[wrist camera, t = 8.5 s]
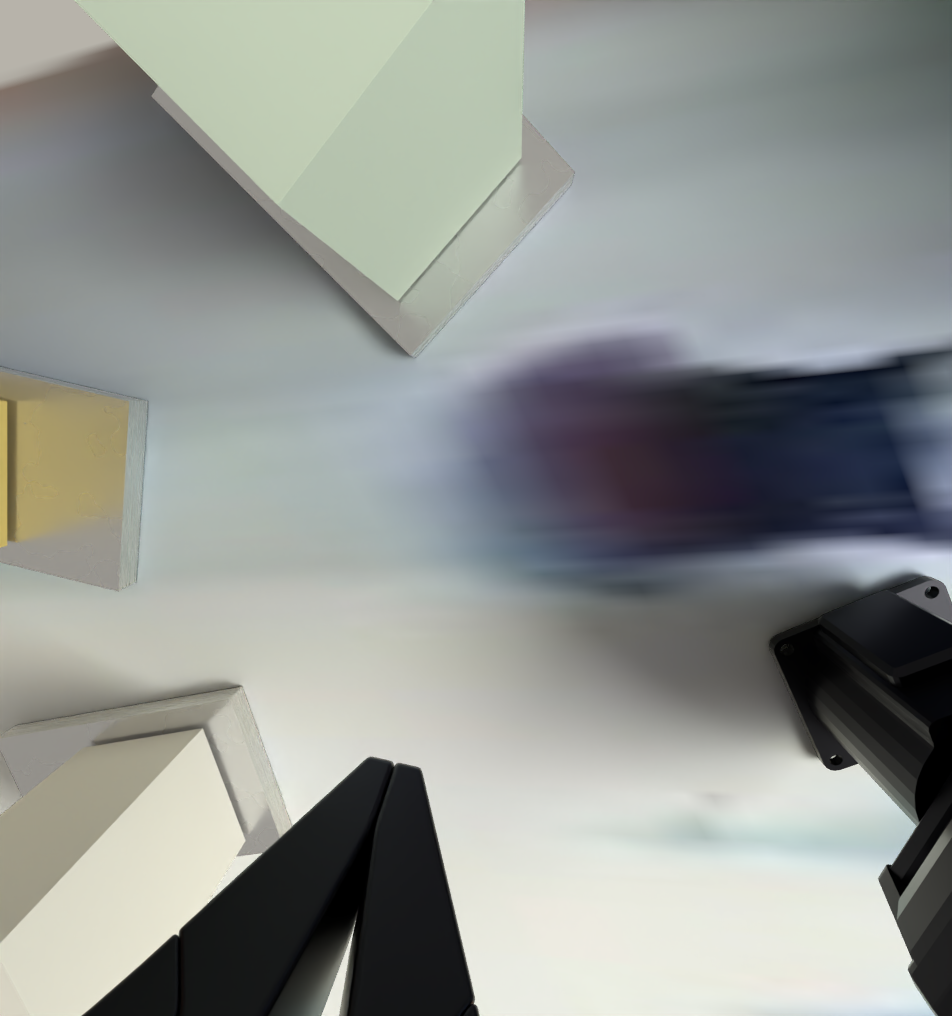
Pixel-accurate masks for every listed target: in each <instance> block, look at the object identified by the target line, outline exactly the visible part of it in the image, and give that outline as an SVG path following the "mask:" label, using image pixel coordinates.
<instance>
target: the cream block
mask: <svg viewBox="0 0 952 1016" xmlns="http://www.w3.org/2000/svg"><path fill="white" fill-rule="evenodd" d="M245 841H246V840H245V838H244V835H243V832H242V830H241V827H240V824H239V822H238V819H237V817H236V814H235V811H234V809H233V806H232V803H231V801H230V798H229V796H228V793H227V790H226V788H225V785H224V782H223V780H222V777H221V775H220V772H219V769H218V767H217V764H216V761H215V759H214V756H213V754H212V751H211V748H210V746H209V743H208V740H207V738H206V735H205V733H204V730H203V728H201V729H195V730H189V731H183V732H177V733H170V734H164V735H158V736H152V737H146V738H140V739H133V740H127V741H121V742H115V743H109V744H103V745H96V746H90V747H84V748H82V749H81V750H80V751H79V752H77V753H76V754H75V755H74V756H73V757H71V758H70V759H69V760H68V761H66V762H65V763H64V764H63V765H61V766H60V767H59V768H58V769H57V770H55V771H54V772H53V773H52V774H50V775H49V776H48V777H47V778H45V779H44V780H43V781H42V782H41V783H39V784H38V785H37V786H36V787H34V788H33V789H32V790H31V791H29V792H28V793H27V794H26V795H25V796H23V797H22V798H21V799H20V800H18V801H17V802H16V803H15V804H14V805H12V806H11V807H10V808H9V809H7V810H6V811H5V812H4V813H2V814H1V815H0V1016H82V1015H83V1014H84V1013H85V1012H87V1011H88V1010H89V1009H90V1008H91V1007H93V1006H94V1005H95V1004H96V1003H97V1002H98V1001H99V1000H101V999H102V998H103V997H104V996H105V995H106V994H107V993H109V992H110V991H111V990H112V989H113V988H114V987H115V986H117V985H118V984H119V983H120V982H121V981H122V980H123V979H125V978H126V977H127V976H128V975H129V974H130V973H132V972H133V971H134V970H135V969H136V968H137V967H138V966H140V965H141V964H142V963H143V962H144V961H145V960H146V959H147V958H148V957H149V956H150V955H152V954H153V953H154V952H155V951H156V950H157V949H158V948H159V947H160V946H161V945H162V944H164V943H165V942H166V941H167V940H168V939H169V938H170V937H171V936H172V935H174V934H176V935H178V936H179V930H180V929H181V928H182V927H183V926H184V925H185V924H186V923H187V922H188V921H189V920H190V919H191V918H192V917H194V916H195V915H196V914H197V913H198V912H199V911H200V910H201V909H202V908H203V907H205V906H206V905H207V904H208V902H209V900H210V899H211V897H212V895H213V894H214V892H215V890H216V889H217V887H218V885H219V884H220V882H221V880H222V879H223V877H224V876H225V874H226V872H227V871H228V869H229V867H230V866H231V864H232V862H233V861H234V859H235V857H236V856H237V854H238V853H239V851H240V849H241V848H242V846H243V844H244V843H245Z"/></svg>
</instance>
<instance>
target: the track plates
mask: <svg viewBox="0 0 952 1016" xmlns="http://www.w3.org/2000/svg"><path fill="white" fill-rule="evenodd" d="M152 97H153V98H154V99H155V100H156V101H157V102H158V103H159V104H160V105H161V106H162V107H163V108H164V109H165V110H166V111H167V112H168V113H169V114H170V115H171V116H172V117H173V118H174V119H175V120H176V121H177V122H178V123H179V124H180V126H181V127H182V128H183V129H184V130H185V131H186V132H187V133H188V134H189V135H190V136H191V137H192V138H193V139H194V140H195V141H196V142H197V143H198V144H199V145H200V146H201V147H202V148H203V149H204V150H205V151H206V152H207V153H208V154H209V155H210V156H211V157H212V158H213V159H214V160H215V161H216V162H217V163H218V164H219V165H220V166H221V167H222V168H223V169H224V170H225V171H226V172H227V173H228V174H229V175H230V176H231V177H232V178H233V179H234V180H235V181H236V182H237V183H238V184H239V185H240V186H241V187H242V188H243V189H244V190H245V191H246V192H247V193H248V194H249V195H250V196H251V197H252V198H253V199H254V200H255V201H256V202H257V203H258V204H259V205H260V206H261V207H262V208H263V209H264V210H265V211H266V212H267V213H268V214H269V215H270V216H271V217H272V218H273V219H274V220H275V221H276V222H277V223H278V224H279V225H280V226H281V227H282V228H283V229H284V230H285V231H286V232H287V233H288V234H289V235H290V236H291V237H292V238H293V239H294V240H295V241H296V242H297V243H298V244H299V245H300V246H301V247H302V248H303V249H304V250H305V251H306V252H307V253H308V254H309V255H310V256H311V257H312V258H313V259H314V260H315V261H316V262H317V263H318V264H319V265H320V266H321V267H322V268H323V269H324V270H325V271H326V272H327V273H328V274H329V275H330V276H331V277H332V278H333V279H334V280H335V281H336V282H337V283H338V284H339V285H340V286H341V287H342V288H343V289H344V290H345V291H346V292H347V293H348V294H349V295H350V296H351V297H352V298H353V299H354V300H355V301H356V302H357V303H358V304H359V305H360V306H361V307H362V308H363V309H364V310H365V311H366V312H367V313H368V314H369V315H370V316H371V317H372V318H373V319H374V320H375V321H376V322H377V323H378V324H379V325H380V326H381V327H382V328H383V329H384V330H385V331H386V332H387V333H388V334H389V335H390V336H391V337H392V338H393V339H394V340H395V341H396V342H397V343H398V344H399V345H400V346H401V347H402V348H403V349H404V350H405V351H406V352H407V353H408V354H409V355H410V356H412V357H415V358H416V357H417V356H418V355H419V354H420V352H421V351H422V350H423V349H424V348H425V347H426V346H427V345H428V344H429V342H430V341H431V340H432V339H433V338H434V337H435V336H436V335H437V334H438V332H439V331H440V330H441V329H442V328H443V327H444V326H445V325H446V324H447V322H448V321H449V320H450V319H451V318H452V317H453V316H454V315H455V314H456V312H457V311H458V310H459V309H460V308H461V307H462V306H463V305H464V304H465V302H466V301H467V300H468V299H469V298H470V297H471V296H472V295H473V294H474V292H475V291H476V290H477V289H478V288H479V287H480V286H481V285H482V284H483V282H484V281H485V280H486V279H487V278H488V277H489V276H490V275H491V274H492V273H493V271H494V270H495V269H496V268H497V267H498V266H499V265H500V264H501V263H502V261H503V260H504V259H505V258H506V257H507V256H508V255H509V254H510V253H511V251H512V250H513V249H514V248H515V247H516V246H517V245H518V244H519V243H520V241H521V240H522V239H523V238H524V237H525V236H526V235H527V234H528V233H529V231H530V230H531V229H532V228H533V227H534V226H535V225H536V224H537V223H538V221H539V220H540V219H541V218H542V217H543V216H544V215H545V214H546V213H547V211H548V210H549V209H550V208H551V207H552V206H553V205H554V204H555V203H556V201H557V200H558V199H559V198H560V197H561V196H562V195H563V194H564V193H565V191H566V190H567V189H568V188H569V187H570V186H571V185H572V181H573V177H574V174H575V172H574V171H573V169H572V168H571V167H570V166H569V165H568V164H567V163H566V162H565V161H564V159H563V158H562V157H561V156H560V155H559V154H558V153H557V152H556V151H555V150H554V148H553V147H552V146H551V145H550V144H549V143H548V142H547V141H546V140H545V139H544V137H543V136H542V135H541V134H540V133H539V132H538V131H537V130H536V129H535V128H534V126H533V125H532V124H531V123H530V122H529V121H528V120H527V119H526V118H525V116H524V115H523V114H522V155H521V159H520V160H519V161H518V162H517V164H516V165H515V166H514V167H513V168H512V169H511V171H510V172H509V173H508V174H507V175H506V176H505V178H504V179H503V180H502V181H501V182H500V183H499V184H498V186H497V187H496V188H495V189H494V190H493V191H492V193H491V194H490V195H489V196H488V197H487V198H486V200H485V201H484V202H483V203H482V204H481V205H480V206H479V208H478V209H477V210H476V211H475V212H474V213H473V215H472V216H471V217H470V218H469V219H468V220H467V222H466V223H465V224H464V225H463V226H462V227H461V228H460V230H459V231H458V232H457V233H456V234H455V235H454V237H453V238H452V239H451V240H450V241H449V242H448V244H447V245H446V246H445V247H444V248H443V249H442V251H441V252H440V253H439V254H438V255H437V256H436V257H435V259H434V260H433V261H432V262H431V263H430V264H429V266H428V267H427V268H426V269H425V270H424V271H423V273H422V274H421V275H420V276H419V277H418V278H417V279H416V281H415V282H414V283H413V284H412V285H411V286H410V288H409V289H408V290H407V291H406V292H405V293H404V295H403V296H402V297H401V298H400V299H399V300H398V301H397V300H396V299H394V298H393V297H392V296H391V295H389V294H388V293H387V292H386V291H384V290H383V289H382V288H381V287H379V286H378V285H377V284H376V283H374V282H373V281H372V280H371V279H369V278H368V277H367V276H366V275H364V274H363V273H362V272H361V271H359V270H358V269H357V268H356V267H354V266H353V265H352V264H350V263H349V262H348V261H347V260H345V259H344V258H343V257H342V256H340V255H339V254H338V253H337V252H335V251H334V250H333V249H332V248H330V247H329V246H328V245H327V244H325V243H324V242H323V241H322V240H320V239H319V238H318V237H317V236H315V235H314V234H313V233H312V232H310V231H309V230H308V229H307V228H305V227H304V226H303V225H302V224H300V223H299V222H298V221H297V220H295V219H294V218H293V217H291V216H290V215H289V214H288V213H286V212H285V211H284V210H283V209H281V208H280V207H279V206H278V205H277V204H276V203H275V202H274V201H273V200H272V199H271V198H270V197H269V196H268V195H267V194H266V193H265V192H264V191H263V190H262V189H261V188H260V187H259V186H258V185H257V184H256V183H255V182H254V181H253V180H252V179H251V178H250V177H249V176H248V175H247V174H246V173H245V172H244V171H243V170H242V169H241V168H240V167H239V166H238V165H237V164H236V163H235V162H234V161H233V160H232V159H231V158H230V157H229V156H228V155H227V154H226V153H225V152H224V151H223V150H222V149H221V148H220V147H219V146H218V145H217V144H216V143H215V142H214V141H213V140H212V139H211V138H210V137H209V136H208V135H207V134H206V133H205V132H204V131H203V130H202V129H201V128H200V127H199V126H198V125H197V124H196V123H195V122H194V121H193V120H192V119H191V118H190V117H189V116H188V115H187V114H186V113H185V112H184V111H183V110H182V109H181V108H180V107H179V106H178V105H177V104H176V103H175V102H174V101H173V100H172V99H171V98H170V97H169V96H168V95H167V94H166V93H165V92H164V91H163V90H162V89H161V88H160V87H159V85H158V87H157V88H156V90H155V91H154V93H153V94H152ZM0 400H4V401H7V546H4V547H1V548H0V562H1V563H5V564H9V565H13V566H18V567H22V568H26V569H30V570H34V571H38V572H42V573H46V574H50V575H54V576H58V577H62V578H67V579H71V580H75V581H79V582H83V583H87V584H91V585H95V586H99V587H103V588H107V589H111V590H116V591H120V590H122V589H124V588H126V587H128V586H130V585H132V584H134V583H136V577H137V561H138V546H139V531H140V515H141V500H142V485H143V470H144V454H145V439H146V424H147V408H148V401H145V400H141V399H137V398H132V397H128V396H124V395H120V394H115V393H111V392H107V391H103V390H98V389H94V388H90V387H85V386H81V385H77V384H73V383H68V382H64V381H60V380H55V379H51V378H47V377H43V376H38V375H34V374H30V373H26V372H21V371H17V370H13V369H8V368H4V367H0ZM201 728H203V730H204V733H205V735H206V738H207V740H208V743H209V746H210V748H211V751H212V754H213V756H214V759H215V761H216V764H217V767H218V769H219V772H220V775H221V777H222V780H223V782H224V785H225V788H226V790H227V793H228V796H229V798H230V801H231V803H232V806H233V809H234V811H235V814H236V817H237V819H238V822H239V824H240V827H241V830H242V832H243V835H244V838H245V840H246V841H245V843H244V844H243V846H242V848H241V849H240V851H239V853H238V854H237V856H243V855H251V854H258V853H264V852H265V851H266V850H267V849H268V848H269V847H270V846H271V845H272V844H274V843H275V842H276V841H277V840H278V839H279V838H280V837H281V836H282V835H283V834H284V833H286V832H287V831H288V830H289V829H290V828H291V827H292V825H291V822H290V819H289V817H288V814H287V811H286V808H285V805H284V802H283V800H282V797H281V794H280V791H279V788H278V786H277V783H276V780H275V777H274V774H273V772H272V769H271V766H270V763H269V760H268V758H267V755H266V752H265V749H264V746H263V744H262V741H261V738H260V735H259V732H258V730H257V727H256V724H255V721H254V718H253V716H252V713H251V710H250V707H249V704H248V702H247V699H246V696H245V693H244V690H243V688H242V687H237V688H231V689H225V690H219V691H213V692H208V693H202V694H196V695H190V696H184V697H179V698H173V699H167V700H161V701H155V702H149V703H144V704H138V705H132V706H126V707H120V708H115V709H109V710H103V711H97V712H91V713H86V714H80V715H74V716H68V717H62V718H56V719H51V720H45V721H39V722H33V723H27V724H22V725H16V726H14V727H13V728H11V729H10V730H8V731H7V732H5V733H4V734H2V735H1V736H0V751H1V753H2V755H3V757H4V759H5V761H6V763H7V766H8V768H9V770H10V772H11V774H12V776H13V778H14V780H15V782H16V784H17V786H18V789H19V791H20V793H21V795H22V797H23V796H25V795H26V794H27V793H28V792H29V791H31V790H32V789H33V788H34V787H36V786H37V785H38V784H39V783H41V782H42V781H43V780H44V779H45V778H47V777H48V776H49V775H50V774H52V773H53V772H54V771H55V770H57V769H58V768H59V767H60V766H61V765H63V764H64V763H65V762H66V761H68V760H69V759H70V758H71V757H73V756H74V755H75V754H76V753H77V752H79V751H80V750H81V749H82V748H84V747H90V746H96V745H103V744H109V743H115V742H121V741H127V740H133V739H140V738H146V737H152V736H158V735H164V734H170V733H177V732H183V731H189V730H195V729H201Z"/></svg>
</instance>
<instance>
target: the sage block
mask: <svg viewBox="0 0 952 1016" xmlns="http://www.w3.org/2000/svg"><path fill="white" fill-rule="evenodd" d="M74 1H75V2H76V3H77V4H78V5H79V6H80V7H81V8H82V9H83V10H84V11H85V12H86V13H87V14H88V15H89V16H90V17H91V18H92V19H93V20H94V21H95V22H96V23H97V24H98V25H99V26H100V27H101V28H102V29H103V30H104V31H105V32H106V33H107V34H108V35H109V36H110V37H111V38H112V39H113V40H114V41H115V42H116V43H117V44H118V45H119V46H120V47H121V48H122V49H123V50H124V51H125V52H126V53H127V54H128V55H129V56H130V57H131V58H132V59H133V60H134V61H135V62H136V63H137V64H138V65H139V66H140V67H141V68H142V69H143V70H144V71H145V72H146V73H147V74H148V75H149V76H150V77H151V78H152V79H153V80H154V81H155V82H156V83H157V84H158V85H159V87H160V88H161V89H162V90H163V91H164V92H165V93H166V94H167V95H168V96H169V97H170V98H171V99H172V100H173V101H174V102H175V103H176V104H177V105H178V106H179V107H180V108H181V109H182V110H183V111H184V112H185V113H186V114H187V115H188V116H189V117H190V118H191V119H192V120H193V121H194V122H195V123H196V124H197V125H198V126H199V127H200V128H201V129H202V130H203V131H204V132H205V133H206V134H207V135H208V136H209V137H210V138H211V139H212V140H213V141H214V142H215V143H216V144H217V145H218V146H219V147H220V148H221V149H222V150H223V151H224V152H225V153H226V154H227V155H228V156H229V157H230V158H231V159H232V160H233V161H234V162H235V163H236V164H237V165H238V166H239V167H240V168H241V169H242V170H243V171H244V172H245V173H246V174H247V175H248V176H249V177H250V178H251V179H252V180H253V181H254V182H255V183H256V184H257V185H258V186H259V187H260V188H261V189H262V190H263V191H264V192H265V193H266V194H267V195H268V196H269V197H270V198H271V199H272V200H273V201H274V202H275V203H276V204H277V205H278V206H279V207H280V208H281V209H283V210H284V211H285V212H286V213H288V214H289V215H290V216H291V217H293V218H294V219H295V220H297V221H298V222H299V223H300V224H302V225H303V226H304V227H305V228H307V229H308V230H309V231H310V232H312V233H313V234H314V235H315V236H317V237H318V238H319V239H320V240H322V241H323V242H324V243H325V244H327V245H328V246H329V247H330V248H332V249H333V250H334V251H335V252H337V253H338V254H339V255H340V256H342V257H343V258H344V259H345V260H347V261H348V262H349V263H350V264H352V265H353V266H354V267H356V268H357V269H358V270H359V271H361V272H362V273H363V274H364V275H366V276H367V277H368V278H369V279H371V280H372V281H373V282H374V283H376V284H377V285H378V286H379V287H381V288H382V289H383V290H384V291H386V292H387V293H388V294H389V295H391V296H392V297H393V298H394V299H396V300H397V301H398V300H399V299H400V298H401V297H402V296H403V295H404V293H405V292H406V291H407V290H408V289H409V288H410V286H411V285H412V284H413V283H414V282H415V281H416V279H417V278H418V277H419V276H420V275H421V274H422V273H423V271H424V270H425V269H426V268H427V267H428V266H429V264H430V263H431V262H432V261H433V260H434V259H435V257H436V256H437V255H438V254H439V253H440V252H441V251H442V249H443V248H444V247H445V246H446V245H447V244H448V242H449V241H450V240H451V239H452V238H453V237H454V235H455V234H456V233H457V232H458V231H459V230H460V228H461V227H462V226H463V225H464V224H465V223H466V222H467V220H468V219H469V218H470V217H471V216H472V215H473V213H474V212H475V211H476V210H477V209H478V208H479V206H480V205H481V204H482V203H483V202H484V201H485V200H486V198H487V197H488V196H489V195H490V194H491V193H492V191H493V190H494V189H495V188H496V187H497V186H498V184H499V183H500V182H501V181H502V180H503V179H504V178H505V176H506V175H507V174H508V173H509V172H510V171H511V169H512V168H513V167H514V166H515V165H516V164H517V162H518V161H519V160H520V159H521V155H522V109H523V63H524V17H525V0H74Z"/></svg>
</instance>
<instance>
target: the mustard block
mask: <svg viewBox="0 0 952 1016" xmlns="http://www.w3.org/2000/svg"><path fill="white" fill-rule="evenodd" d="M4 546H7V401H4V400H0V548H1V547H4Z"/></svg>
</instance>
